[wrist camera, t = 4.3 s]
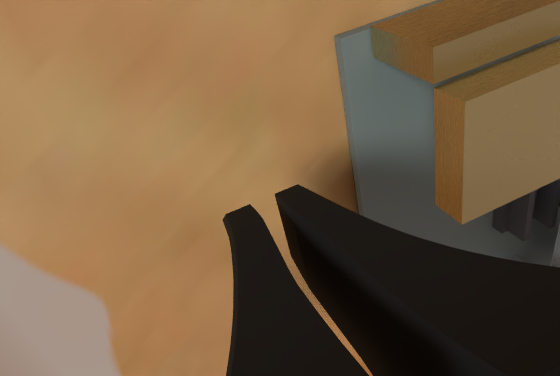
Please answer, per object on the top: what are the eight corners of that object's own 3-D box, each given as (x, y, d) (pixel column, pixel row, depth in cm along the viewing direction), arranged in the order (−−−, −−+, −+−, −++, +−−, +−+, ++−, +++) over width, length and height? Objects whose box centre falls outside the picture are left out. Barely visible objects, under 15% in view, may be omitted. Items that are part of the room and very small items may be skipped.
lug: (492, 117, 18) (591, 163, 14) (382, 164, 17) (461, 224, 13) (501, -20, 15) (627, -4, 12) (370, 26, 14) (466, 59, 10)
